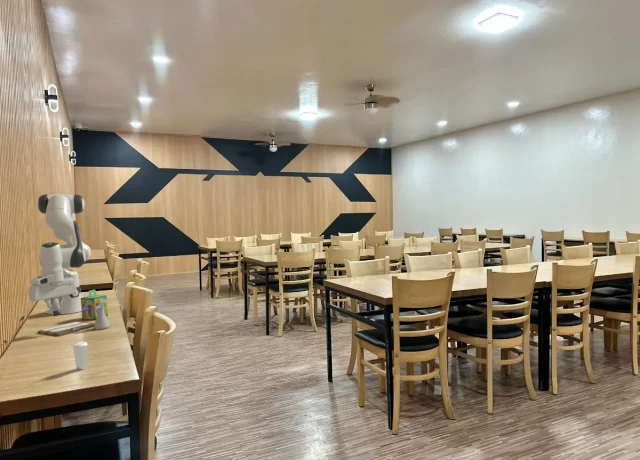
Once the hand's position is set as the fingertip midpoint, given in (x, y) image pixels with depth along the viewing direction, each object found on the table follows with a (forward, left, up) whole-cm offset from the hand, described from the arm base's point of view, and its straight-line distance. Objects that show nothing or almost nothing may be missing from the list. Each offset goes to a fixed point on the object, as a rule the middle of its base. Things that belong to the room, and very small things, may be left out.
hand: (55, 306), depth 203 cm
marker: (+1, 0, -4) cm, 4 cm away
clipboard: (-1, +6, -12) cm, 14 cm away
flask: (+14, +13, -13) cm, 23 cm away
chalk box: (-11, +27, -13) cm, 31 cm away
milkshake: (+60, -28, -12) cm, 68 cm away
